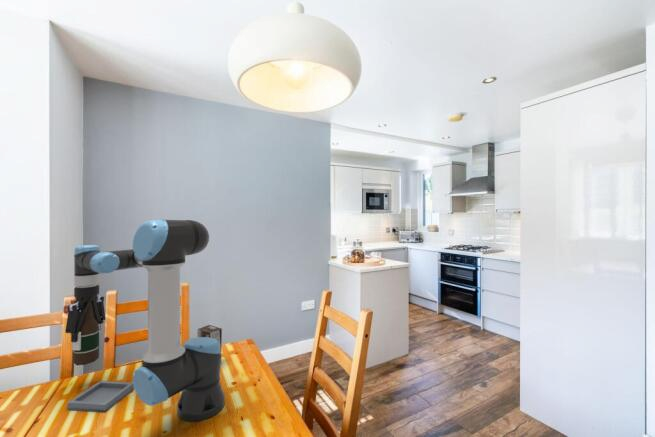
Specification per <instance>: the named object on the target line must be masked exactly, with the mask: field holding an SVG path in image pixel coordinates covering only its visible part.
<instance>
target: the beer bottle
mask: <svg viewBox="0 0 655 437" xmlns="http://www.w3.org/2000/svg"><path fill="white" fill-rule="evenodd" d="M92 301H93V298H89V299H87V301H86V302H90V305H89V307H88V310H87V313H86V314H85V315H84V318H83V321H82V324H81V327H80V330H79V332H81V350H72V361H73V364H74V365H75V366H85V365H89V364H92V363H95V361H97V360H98V359H99V357H100V341H99V325H98V323H97V321H96V320H95V319H94V316H93V306H92ZM75 330H76V329H75Z"/></svg>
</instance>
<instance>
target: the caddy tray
mask: <svg viewBox="0 0 655 437" xmlns="http://www.w3.org/2000/svg"><path fill="white" fill-rule="evenodd" d="M132 391H135V389H134V386H133V382H125V381H124V382H123V381H109V380H106V381H105V380H99V381H98V382H96V383H95V384H93V385H92V386H91V387H89V388H87V389H86V390H84V391H83V392H81V393H79V394H78V395H77V396H75V397H74V398H72V399H71V400H69V401H67V407H66V408H67V411H77V412H78V411H79V412H91V413H92V412H93V413H107V412H108V411H109V410H110V409H112V407H115V405H116V404H118V403H119V402H120V401H121V400H123V399H124V398H125V397H127V395H129V394H130V393H131V392H132Z"/></svg>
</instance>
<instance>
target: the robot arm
mask: <svg viewBox="0 0 655 437" xmlns="http://www.w3.org/2000/svg"><path fill="white" fill-rule="evenodd" d="M209 233H210V232H209V231H208V229H207V228H206V226H205V225H204V224H202V223H201V222H198V221H197V220H192V219H187V220H185V219H153V220H152V219H151V220H147V221H144V222H143V223H141V224H140V225H139V226H138V228H137V229H136V231H135V233H134V235H133V240H132V249H121V250H119V249H118V250H110V251H109V250H108V251H101V250H100V246H99V245H97V244H86V245H85V244H83V245H77V246H76V247H75V248H74V254H73V257H74V258H73V259H74V271H73V272H74V288H73V290H74V291H73V297H74V298H75V302H74V303H73V304H69V305H67V318H66V324H65V330H64V331H65V334H70V341H71V350H72V351H73V350H81V332H79V330H80V327H81V324H82V321H83V318H84V315H85V314H86V313H87V310H88V307H89V305H90V302H86V301H87V299H89V298H93V301H92V306H93V316H94V319H95V320H96V321H97V323H98V325H99V342H100V341H101V336H100V335H101V328H102V325H103V324H104V322H105V320H106V311H105V303H104V301H105V296H99V294H100V285H99V284H100V274H111V273H113V272H115V271H122V270H123V271H124V270H129V269H138V268H144V269H146V270H147V351H146V352H145V353H144V354H142V356H141V366H139V367H137V368H136V369H135V370H134V372H133V374H132V383H133V386H134V391H135V393H136V394H135V395H136V396H137V397H138V399H139V400H140V401H141V403H143V404H145V405H146V406H150V407H153V406H154V407H155V406H157V405H158V404H160V403H163V402H166V401H168V399H170V398H171V397H174V396H176V395H177V394H179V393H181V394H180V396H179V400H178V402H177V405H176V413H177V417H178V418H179V419H181V420H183V421H186V422H201V421H204V420H207V419H211V418H212V417H214V416H216V415H217V414H219V412H221V411H222V409H224V407H225V400H226V398H225V397H226V396H225V393H224V389H223V387H222V384H221V381H220V379H221V365H220V353H221V354H222V350H221V351H220V343H219V341H218V340H216V339H214V338H208V337H198V338H197V337H192V338H189V339H187V340H185V342H184V343H183V345H182V344H181V287H180V286H181V270H180V269H181V267H183V266H184V264H186V256H192V255H196V254H199V253H201V252H203V251H204V250H205V249H206V248H207V247H208V244H209V241H210V234H209ZM75 329H76V330H75Z"/></svg>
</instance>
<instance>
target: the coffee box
mask: <svg viewBox="0 0 655 437" xmlns="http://www.w3.org/2000/svg"><path fill="white" fill-rule="evenodd" d="M222 332H223V329H222V328H221V327H217V326H215V325H210V324H208V325H205V326H203V327H200V328H197V337H196V338H198V337H208V338H214V339H216V340H218V341H219V343H220V351H221V353H220V366H221V365H222V342H223V341H222V340H223V339H222V338H223V337H222V334H223V333H222Z"/></svg>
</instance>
